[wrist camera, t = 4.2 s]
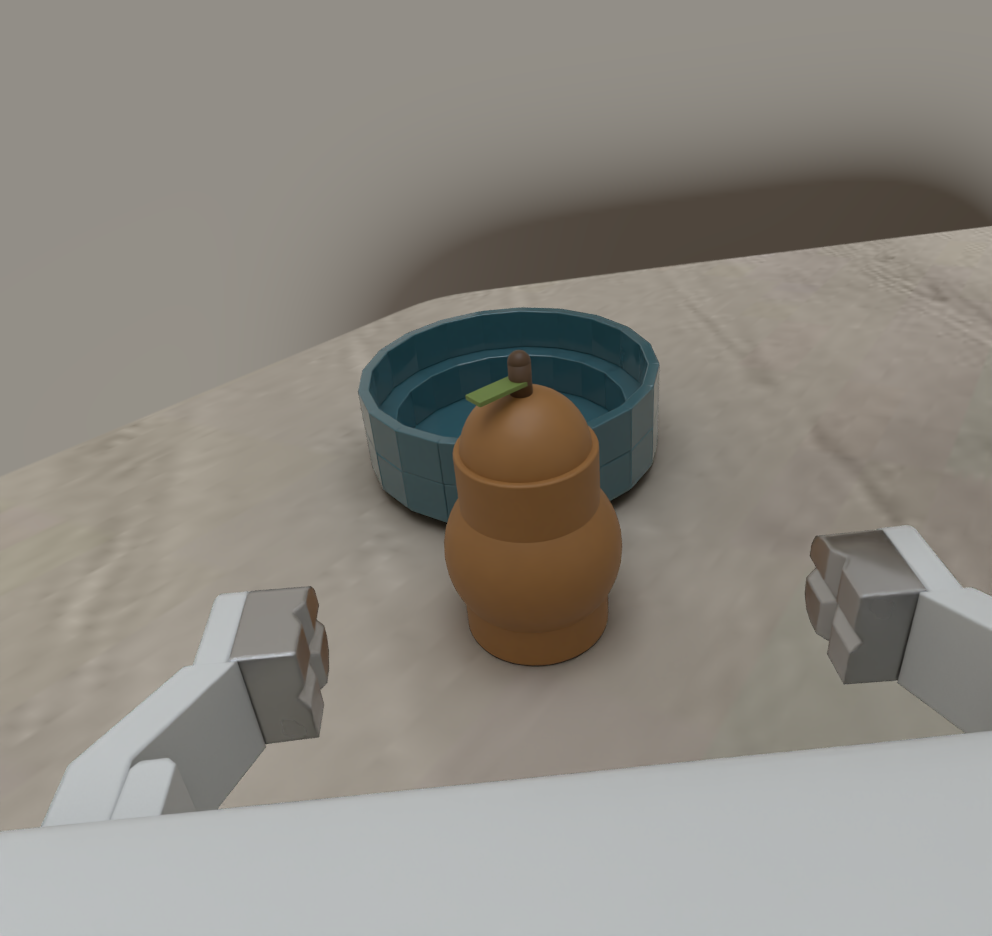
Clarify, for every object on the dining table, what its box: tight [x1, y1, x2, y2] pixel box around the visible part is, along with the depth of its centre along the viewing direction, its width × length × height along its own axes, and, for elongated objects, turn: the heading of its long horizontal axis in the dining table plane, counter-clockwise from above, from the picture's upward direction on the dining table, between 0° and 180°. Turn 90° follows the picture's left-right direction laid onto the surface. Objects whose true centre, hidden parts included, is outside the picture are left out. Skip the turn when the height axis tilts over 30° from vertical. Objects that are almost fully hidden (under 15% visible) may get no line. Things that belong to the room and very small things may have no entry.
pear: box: [444, 350, 622, 666], centre depth 28 cm, size 6×6×10 cm
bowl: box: [358, 308, 660, 523], centre depth 39 cm, size 13×13×4 cm
